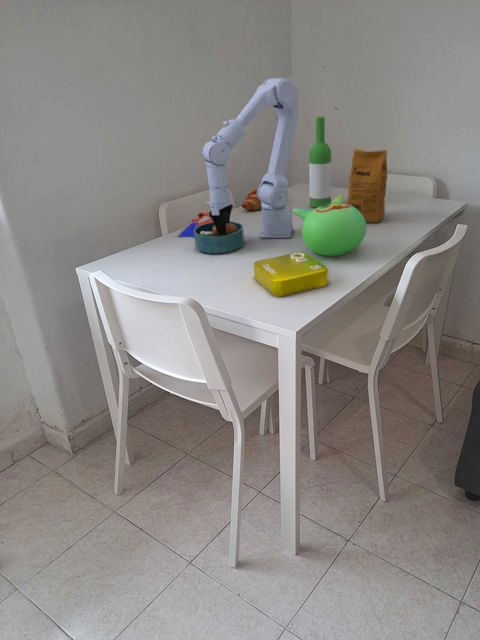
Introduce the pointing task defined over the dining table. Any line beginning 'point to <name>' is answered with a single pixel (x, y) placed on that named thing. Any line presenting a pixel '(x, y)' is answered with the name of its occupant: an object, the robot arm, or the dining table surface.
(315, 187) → the wine bottle
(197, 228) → the teal mixing bowl
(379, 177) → the coffee package
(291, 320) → the dining table surface
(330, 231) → the green teapot
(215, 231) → the drumstick
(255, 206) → the croissant
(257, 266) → the element tile
